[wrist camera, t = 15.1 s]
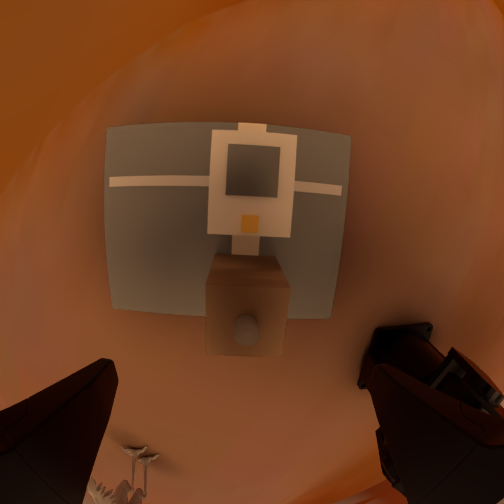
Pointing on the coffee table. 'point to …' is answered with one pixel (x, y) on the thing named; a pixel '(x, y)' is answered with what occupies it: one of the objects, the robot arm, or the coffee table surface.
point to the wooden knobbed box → (246, 306)
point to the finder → (251, 183)
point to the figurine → (122, 484)
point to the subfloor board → (196, 218)
